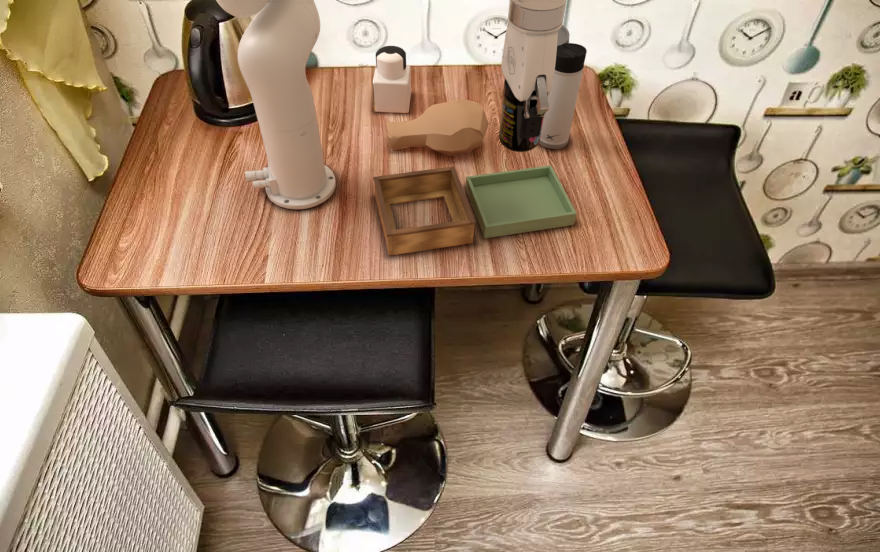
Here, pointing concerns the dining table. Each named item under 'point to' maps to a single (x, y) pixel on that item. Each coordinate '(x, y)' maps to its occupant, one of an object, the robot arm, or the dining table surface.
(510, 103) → the supplement container
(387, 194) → the brown wooden square frame
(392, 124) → the squash
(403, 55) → the white block figurine
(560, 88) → the travel mug
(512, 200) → the tray
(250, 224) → the dining table surface
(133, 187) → the dining table surface
